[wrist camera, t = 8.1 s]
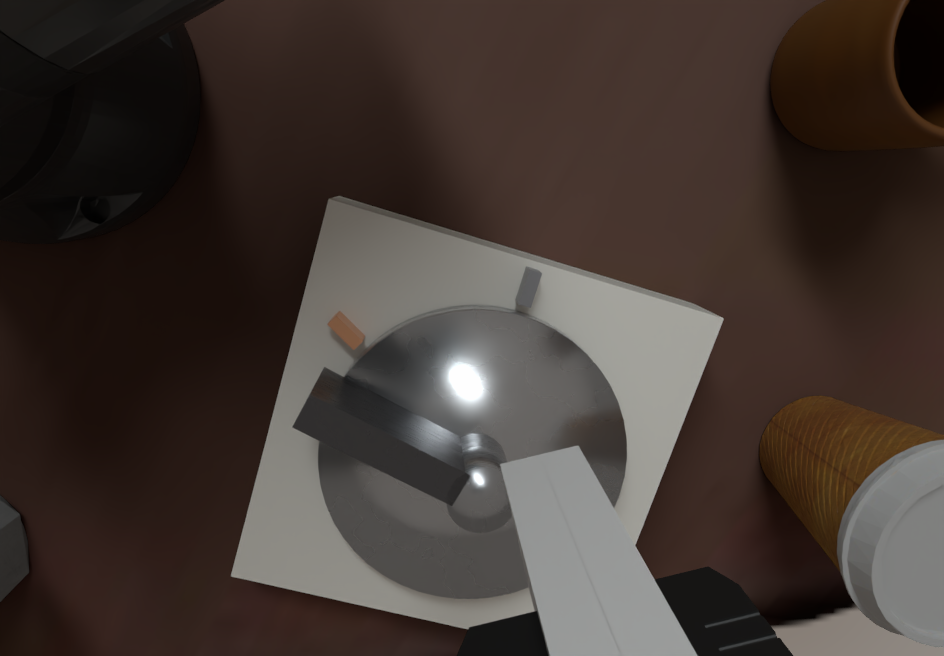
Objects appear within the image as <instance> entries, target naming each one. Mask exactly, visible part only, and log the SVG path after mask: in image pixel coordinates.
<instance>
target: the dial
mask: <svg viewBox="0 0 944 656" xmlns="http://www.w3.org/2000/svg"><path fill="white" fill-rule="evenodd" d="M292 428H294V429H296V430H298V431H300V432H302V433H304V434H306V435H308V436H310V437H312V438H314V439H316V440H318V441H319V447H318V470H319V478H320V486H321V489H322V493H323V497H324V500H325V504H326V506H327V508H328V511H329V513H330V515H331V518H332V520H333V522H334V524H335V525H336V527H337V529H338V530H339V532H340V533H341V535H342V537H343V538H344V539H345V540H346V542H347V543H348V544H349V545H350V547H351V548H352V549H353V550H354V551H355V552H356V553H357V554H358V555H359V556H360V557H361V558H362V559H363V560H364V561H365V562H366V563H367V564H368V565H370V566H371V567H372V568H374V569H375V570H377V571H378V572H379V573H381V574H382V575H384V576H385V577H387V578H389V579H391V580H393V581H395V582H397V583H398V584H400V585H403V586H405V587H408V588H410V589H413V590H416V591H418V592H422V593H426V594H430V595H434V596H439V597H446V598H454V599H480V598H490V597H497V596H501V595H506V594H510V593H514V592H517V591H520V590H523V589H526V588H529V586H528V582H527V578H526V574H525V569H524V565H523V561H522V556H521V552H520V548H519V543H518V539H517V535H516V531H515V526H514V522H513V518H512V513H511V509H510V505H509V501H508V496H507V492H506V488H505V483H504V479H503V475H502V471H501V466H500V464H502V463H506V462H511V461H515V460H519V459H523V458H527V457H532V456H536V455H540V454H544V453H548V452H552V451H557V450H561V449H565V448H569V447H573V446H579V447H580V449H581V451H582V453H583V455H584V456H585V458H586V460H587V462H588V463H589V465H590V467H591V469H592V470H593V472H594V474H595V476H596V477H597V479H598V481H599V483H600V485H601V486H602V488H603V490H604V492H605V493H606V495H607V497H608V499H609V500H610V502H611V504H612V506H613V507H615V505H616V502H617V500H618V498H619V495H620V492H621V488H622V484H623V481H624V477H625V470H626V462H627V438H626V431H625V425H624V419H623V416H622V413H621V409H620V406H619V403H618V401H617V398H616V396H615V394H614V392H613V390H612V388H611V386H610V384H609V382H608V381H607V379H606V378H605V376H604V375H603V373H602V372H601V370H600V369H599V367H598V366H597V365H596V364H595V363H594V362H593V361H592V359H591V358H590V357H589V356H588V355H587V354H586V353H585V352H584V350H583V349H582V348H581V347H580V346H579V345H578V344H576V343H575V342H574V341H573V340H572V339H571V338H570V337H568V336H567V335H566V334H565V333H563V332H562V331H560V330H559V329H557V328H555V327H554V326H552V325H551V324H549V323H547V322H545V321H543V320H541V319H539V318H537V317H535V316H532V315H530V314H526V313H523V312H520V311H517V310H514V309H509V308H504V307H498V306H493V305H460V306H450V307H446V308H441V309H436V310H432V311H429V312H426V313H423V314H420V315H417V316H415V317H412V318H410V319H408V320H406V321H404V322H402V323H400V324H398V325H396V326H394V327H393V328H391V329H390V330H388V331H387V332H385V333H384V334H382V335H381V336H379V337H378V338H377V339H376V340H375V341H373V342H372V343H371V344H370V345H369V346H368V347H367V348H366V349H364V350H363V351H362V353H361V354H360V355H359V356H358V357H357V358H356V360H355V361H354V362H353V363H352V364H351V365H350V367H349V368H348V370H347V371H346V373H345V374H344V376H341V375H339V374H337V373H335V372H333V371H331V370H330V369H328V368H326V367H324V368H323V370H322V372H321V374H320V376H319V377H318V379H317V381H316V383H315V385H314V387H313V388H312V390H311V392H310V394H309V396H308V398H307V399H306V401H305V403H304V405H303V407H302V409H301V411H300V413H299V415H298V417H297V419H296V421H295V423H294V424H293V426H292Z"/></svg>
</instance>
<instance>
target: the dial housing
mask: <svg viewBox="0 0 944 656" xmlns="http://www.w3.org/2000/svg"><path fill="white" fill-rule="evenodd" d="M460 305H493V306H498V307H504V308H509V309H514V310H517V311H520V312H523V313H526V314H530V315H532V316H535V317H537V318H539V319H541V320H543V321H545V322H547V323H549V324H551V325H552V326H554V327H555V328H557V329H559V330H560V331H562V332H563V333H565V334H566V335H567V336H568V337H570V338H571V339H572V340H573V341H574V342H575V343H576V344H578V345H579V346H580V347H581V348H582V349H583V350H584V352H585V353H586V354H587V355H588V356H589V357H590V358H591V359H592V361H593V362H594V363H595V364H596V365H597V366H598V367H599V369H600V370H601V372H602V373H603V375H604V376H605V378H606V379H607V381H608V382H609V384H610V386H611V388H612V390H613V392H614V394H615V396H616V398H617V401H618V403H619V406H620V409H621V413H622V416H623V419H624V425H625V431H626V438H627V462H626V470H625V477H624V481H623V484H622V488H621V492H620V495H619V498H618V500H617V502H616V505H615V507H614V509H615V511H616V513H617V515H618V516H619V518H620V520H621V522H622V523H623V525H624V527H625V529H626V530H627V532H628V534H629V536H630V537H631V539H632V541H633V543H634V545H636V542H637V540H638V537H639V535H640V532H641V530H642V527H643V524H644V522H645V519H646V517H647V514H648V512H649V509H650V506H651V504H652V501H653V499H654V496H655V494H656V491H657V489H658V486H659V483H660V481H661V478H662V476H663V473H664V471H665V468H666V465H667V463H668V460H669V458H670V455H671V453H672V450H673V448H674V445H675V442H676V440H677V437H678V435H679V432H680V430H681V427H682V424H683V422H684V419H685V417H686V414H687V412H688V409H689V407H690V404H691V401H692V399H693V396H694V394H695V391H696V389H697V386H698V383H699V381H700V378H701V376H702V373H703V371H704V368H705V366H706V363H707V360H708V358H709V355H710V353H711V350H712V348H713V345H714V342H715V340H716V337H717V335H718V332H719V330H720V327H721V325H722V322H723V319H724V318H722V317H720V316H718V315H716V314H714V313H712V312H710V311H708V310H706V309H703V308H701V307H699V306H697V305H695V304H693V303H690V302H687V301H684V300H680V299H677V298H674V297H670V296H667V295H664V294H661V293H657V292H654V291H651V290H647V289H644V288H641V287H638V286H634V285H631V284H628V283H624V282H621V281H618V280H615V279H611V278H608V277H605V276H601V275H598V274H595V273H592V272H588V271H585V270H582V269H578V268H575V267H572V266H568V265H565V264H562V263H559V262H555V261H552V260H549V259H545V258H542V257H539V256H536V255H532V254H529V253H526V252H522V251H519V250H516V249H513V248H509V247H506V246H503V245H499V244H496V243H493V242H490V241H486V240H483V239H480V238H476V237H473V236H470V235H467V234H463V233H460V232H457V231H453V230H450V229H447V228H444V227H440V226H437V225H434V224H430V223H427V222H424V221H421V220H417V219H414V218H411V217H407V216H404V215H401V214H398V213H394V212H391V211H388V210H384V209H381V208H378V207H375V206H371V205H368V204H365V203H361V202H358V201H355V200H352V199H348V198H345V197H342V196H337V197H333V198H329V200H328V203H327V207H326V211H325V215H324V219H323V223H322V227H321V230H320V234H319V238H318V242H317V246H316V250H315V254H314V257H313V261H312V265H311V269H310V273H309V277H308V281H307V284H306V288H305V292H304V296H303V300H302V304H301V308H300V311H299V315H298V319H297V323H296V327H295V331H294V334H293V338H292V342H291V346H290V350H289V354H288V358H287V361H286V365H285V369H284V373H283V377H282V381H281V385H280V388H279V392H278V396H277V400H276V404H275V408H274V412H273V415H272V419H271V423H270V427H269V431H268V435H267V439H266V442H265V446H264V450H263V454H262V458H261V462H260V466H259V469H258V473H257V477H256V481H255V485H254V489H253V493H252V496H251V500H250V504H249V508H248V512H247V516H246V520H245V523H244V527H243V531H242V535H241V539H240V543H239V546H238V550H237V554H236V558H235V562H234V566H233V570H232V573H231V576H232V577H236V578H241V579H245V580H250V581H254V582H259V583H263V584H268V585H272V586H276V587H281V588H285V589H290V590H294V591H299V592H303V593H308V594H312V595H317V596H321V597H326V598H330V599H334V600H339V601H343V602H348V603H352V604H357V605H361V606H366V607H370V608H375V609H379V610H384V611H388V612H392V613H397V614H401V615H406V616H410V617H415V618H419V619H424V620H428V621H433V622H437V623H442V624H446V625H450V626H455V627H459V628H464V629H469V627H473V626H477V625H481V624H485V623H489V622H493V621H497V620H501V619H505V618H510V617H514V616H518V615H522V614H526V613H530V612H534V611H535V610H534V607H533V603H532V599H531V595H530V591H529V588H526V589H523V590H520V591H517V592H514V593H510V594H506V595H501V596H497V597H490V598H480V599H454V598H446V597H439V596H434V595H430V594H426V593H422V592H418V591H416V590H413V589H410V588H408V587H405V586H403V585H400V584H398V583H397V582H395V581H393V580H391V579H389V578H387V577H385V576H384V575H382V574H381V573H379V572H378V571H377V570H375V569H374V568H372V567H371V566H370V565H368V564H367V563H366V562H365V561H364V560H363V559H362V558H361V557H360V556H359V555H358V554H357V553H356V552H355V551H354V550H353V549H352V548H351V547H350V545H349V544H348V543H347V542H346V540H345V539H344V538H343V537H342V535H341V533H340V532H339V530H338V529H337V527H336V525H335V524H334V522H333V520H332V518H331V515H330V513H329V511H328V508H327V506H326V504H325V500H324V497H323V493H322V489H321V486H320V478H319V470H318V447H319V441H318V440H316V439H314V438H312V437H310V436H308V435H306V434H304V433H302V432H300V431H298V430H296V429H294V428H292V426H293V424H294V423H295V421H296V419H297V417H298V415H299V413H300V411H301V409H302V407H303V405H304V403H305V401H306V399H307V398H308V396H309V394H310V392H311V390H312V388H313V387H314V385H315V383H316V381H317V379H318V377H319V376H320V374H321V372H322V370H323V368H324V367H326V368H328V369H330V370H331V371H333V372H335V373H337V374H339V375H341V376H344V374H345V373H346V371H347V370H348V368H349V367H350V365H351V364H352V363H353V362H354V361H355V360H356V358H357V357H358V356H359V355H360V354H361V353H362V351H363V350H364V349H366V348H367V347H368V346H369V345H370V344H371V343H372V342H373V341H375V340H376V339H377V338H378V337H379V336H381V335H382V334H384V333H385V332H387V331H388V330H390V329H391V328H393V327H394V326H396V325H398V324H400V323H402V322H404V321H406V320H408V319H410V318H412V317H415V316H417V315H420V314H423V313H426V312H429V311H432V310H436V309H441V308H446V307H450V306H460Z"/></svg>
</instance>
